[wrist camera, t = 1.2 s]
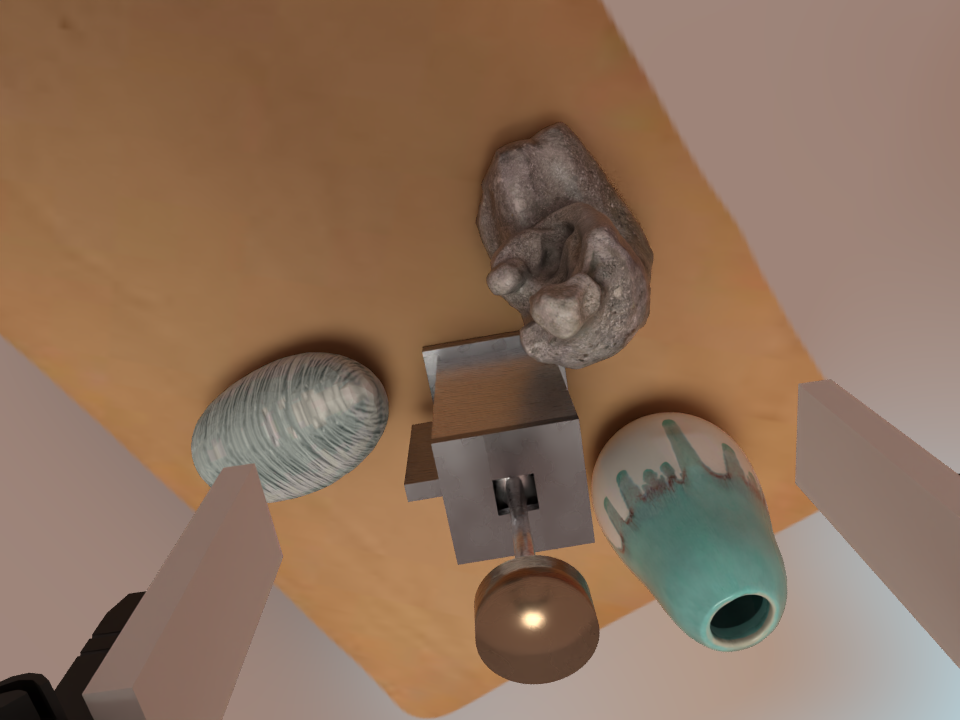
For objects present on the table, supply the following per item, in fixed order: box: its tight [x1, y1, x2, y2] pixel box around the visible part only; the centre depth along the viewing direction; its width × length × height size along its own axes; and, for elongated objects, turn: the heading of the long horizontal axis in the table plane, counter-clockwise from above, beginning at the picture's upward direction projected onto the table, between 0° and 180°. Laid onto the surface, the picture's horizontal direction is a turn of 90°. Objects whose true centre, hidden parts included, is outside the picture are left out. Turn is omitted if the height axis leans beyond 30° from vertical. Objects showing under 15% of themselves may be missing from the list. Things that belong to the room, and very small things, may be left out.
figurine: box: [476, 122, 653, 369], centre depth 38 cm, size 13×12×18 cm
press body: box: [404, 331, 595, 565], centre depth 45 cm, size 10×12×14 cm
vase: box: [591, 412, 787, 652], centre depth 45 cm, size 12×12×18 cm
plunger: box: [474, 473, 599, 684], centre depth 34 cm, size 6×6×13 cm
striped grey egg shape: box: [191, 352, 388, 503], centre depth 47 cm, size 14×10×10 cm
